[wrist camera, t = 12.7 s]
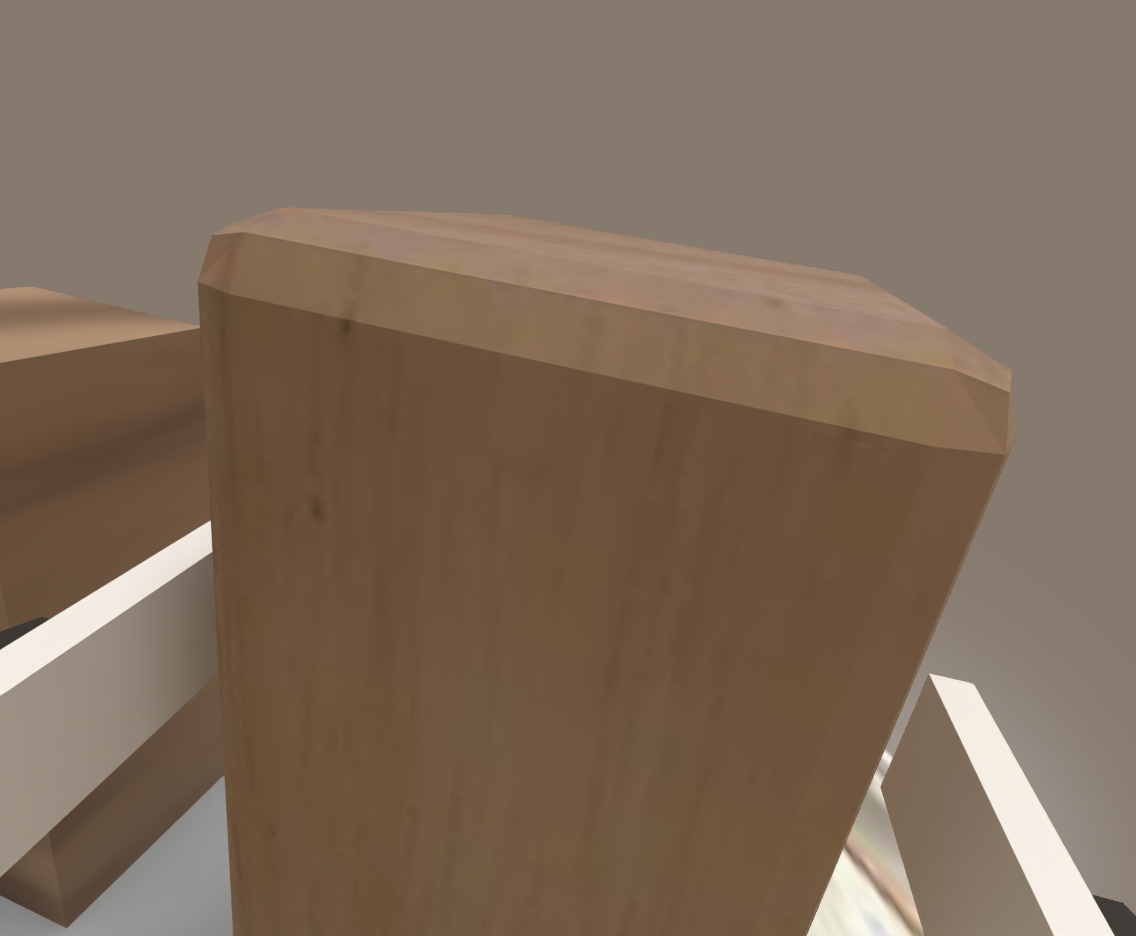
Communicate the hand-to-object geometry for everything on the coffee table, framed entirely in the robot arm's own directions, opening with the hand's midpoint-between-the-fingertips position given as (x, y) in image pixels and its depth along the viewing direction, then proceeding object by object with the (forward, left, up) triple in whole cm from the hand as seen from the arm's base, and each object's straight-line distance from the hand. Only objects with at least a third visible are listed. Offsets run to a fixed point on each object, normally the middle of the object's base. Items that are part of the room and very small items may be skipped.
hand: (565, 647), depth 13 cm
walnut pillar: (-15, +1, -13) cm, 20 cm away
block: (0, +1, -13) cm, 13 cm away
